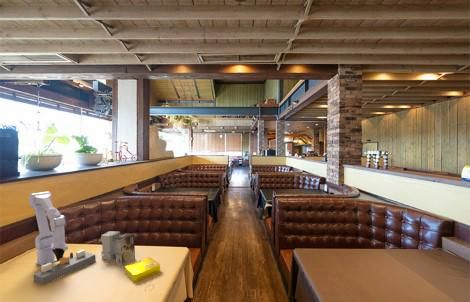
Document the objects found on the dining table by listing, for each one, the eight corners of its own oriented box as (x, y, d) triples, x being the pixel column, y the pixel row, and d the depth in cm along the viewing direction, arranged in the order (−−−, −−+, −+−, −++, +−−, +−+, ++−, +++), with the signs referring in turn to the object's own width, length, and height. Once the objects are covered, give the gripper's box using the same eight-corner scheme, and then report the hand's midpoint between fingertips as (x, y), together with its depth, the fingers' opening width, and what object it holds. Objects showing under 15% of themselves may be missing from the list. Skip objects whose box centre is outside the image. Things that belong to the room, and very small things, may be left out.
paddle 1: (41, 271, 127) (41, 265, 127) (49, 267, 131) (49, 262, 131) (43, 272, 126) (43, 266, 126) (52, 268, 130) (52, 263, 130)
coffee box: (129, 257, 150) (128, 232, 150) (135, 259, 147) (134, 234, 147) (115, 263, 142) (114, 237, 142) (121, 266, 139) (120, 239, 139)
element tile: (149, 263, 142) (149, 255, 142) (161, 272, 131) (161, 263, 131) (123, 273, 131) (123, 265, 131) (134, 284, 121) (134, 274, 121)
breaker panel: (33, 281, 125) (33, 274, 125) (86, 258, 150) (86, 252, 150) (42, 285, 121) (42, 277, 121) (95, 261, 147) (95, 254, 146)
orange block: (59, 263, 135) (59, 258, 135) (67, 260, 139) (67, 255, 139) (62, 264, 134) (62, 259, 134) (69, 261, 138) (69, 256, 138)
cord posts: (43, 272, 133) (42, 263, 133) (72, 260, 147) (72, 252, 147) (44, 273, 132) (44, 264, 132) (73, 260, 146) (73, 252, 146)
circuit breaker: (121, 260, 147) (120, 236, 146) (101, 258, 150) (100, 235, 149) (129, 254, 154) (128, 232, 154) (110, 253, 157) (109, 231, 157)
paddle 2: (76, 257, 144) (75, 252, 144) (82, 254, 147) (82, 249, 147) (78, 257, 142) (78, 252, 142) (85, 254, 146) (85, 250, 146)
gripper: (44, 238, 138) (45, 260, 139) (58, 241, 132) (59, 265, 132) (57, 233, 145) (58, 255, 145) (71, 237, 138) (72, 260, 139)
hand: (59, 260), depth 139 cm, fingers closed
